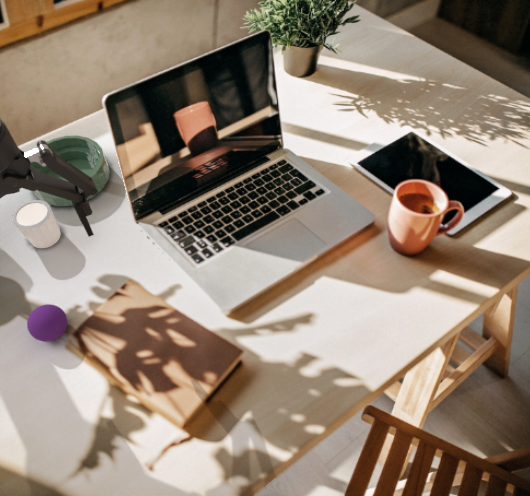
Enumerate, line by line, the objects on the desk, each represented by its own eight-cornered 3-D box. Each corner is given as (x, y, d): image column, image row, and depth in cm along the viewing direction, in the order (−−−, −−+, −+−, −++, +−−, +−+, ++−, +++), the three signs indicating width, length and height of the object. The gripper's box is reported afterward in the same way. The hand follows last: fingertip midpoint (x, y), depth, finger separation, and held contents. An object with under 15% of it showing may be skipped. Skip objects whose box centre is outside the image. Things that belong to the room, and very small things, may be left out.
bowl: (25, 209, 99) (14, 191, 94) (43, 154, 108) (34, 136, 104) (103, 207, 99) (95, 189, 94) (115, 152, 108) (108, 134, 104)
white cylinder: (55, 253, 92) (41, 230, 86) (21, 249, 93) (5, 226, 87) (70, 225, 96) (57, 201, 90) (36, 221, 97) (22, 197, 91)
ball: (31, 348, 81) (16, 331, 76) (40, 315, 84) (26, 298, 80) (68, 347, 81) (55, 330, 76) (75, 314, 84) (63, 296, 80)
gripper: (-159, 196, 48) (-46, 303, 65) (90, 115, 55) (133, 232, 72) (-161, 149, 52) (-53, 262, 69) (72, 79, 59) (117, 198, 76)
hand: (42, 247), depth 71 cm, fingers open, 13 cm apart
